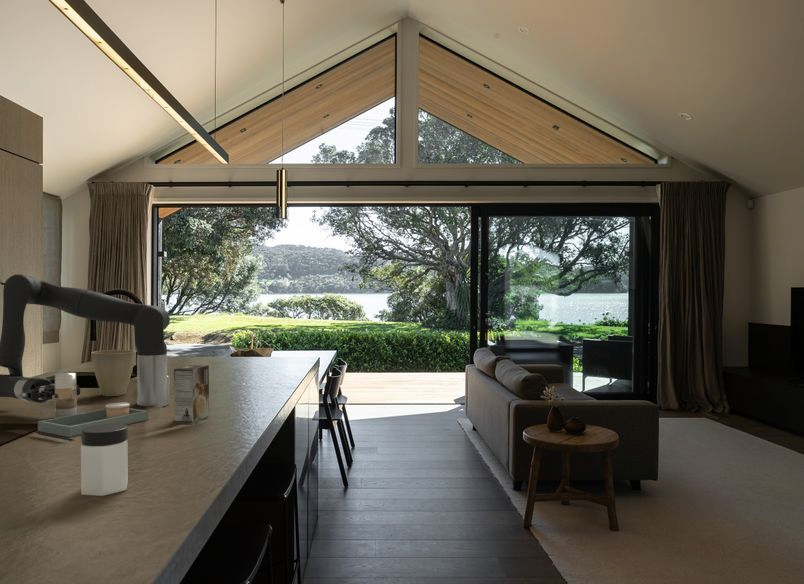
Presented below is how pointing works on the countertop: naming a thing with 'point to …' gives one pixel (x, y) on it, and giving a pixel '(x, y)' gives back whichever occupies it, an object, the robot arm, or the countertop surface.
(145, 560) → the countertop surface
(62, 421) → the tray
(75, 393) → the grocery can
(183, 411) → the coffee box
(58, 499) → the countertop surface
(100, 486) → the jar
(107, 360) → the plant pot
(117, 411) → the small lidded tub
